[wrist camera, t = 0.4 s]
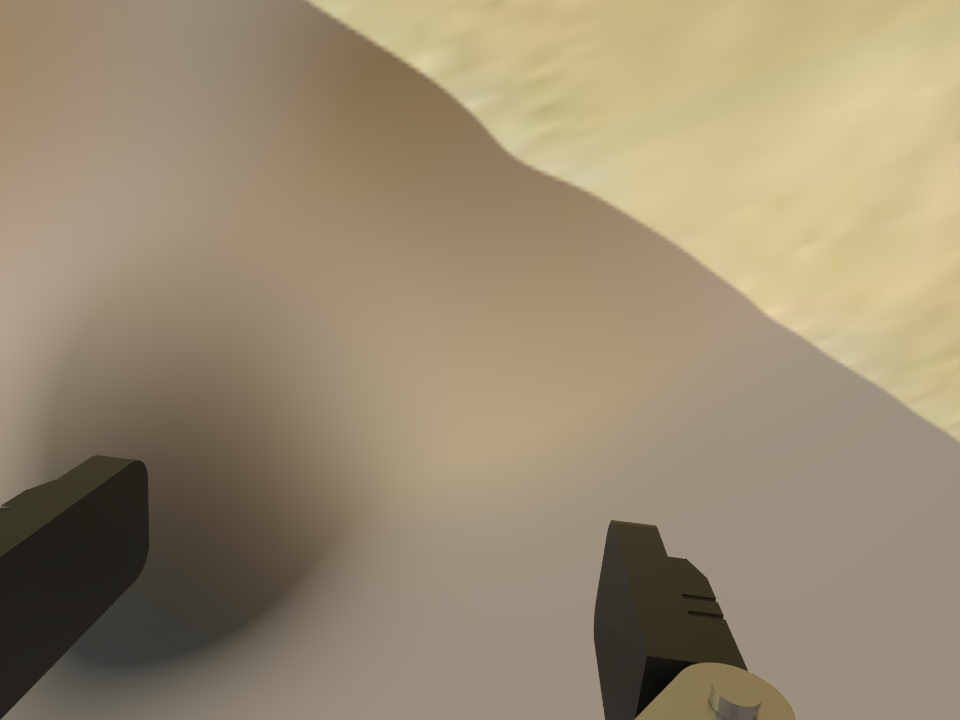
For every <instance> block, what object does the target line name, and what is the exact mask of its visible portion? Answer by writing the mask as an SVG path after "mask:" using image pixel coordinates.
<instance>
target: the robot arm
mask: <svg viewBox="0 0 960 720" xmlns="http://www.w3.org/2000/svg"><path fill="white" fill-rule="evenodd" d="M148 512H149V511H148V473H147V469H146V466H145V464H144V463H143V462H142V461H140V460H133V459H125V458H117V457H109V456H100V455H96V456H93V457H91V458H89V459H88V460H86V461H85V462H83V463H81V464H80V465H78V466H77V467H75V468H74V469H72V470H70V471H69V472H67V473H66V474H65V475H63V476H61V477H60V478H58V479H56V480H54V481H51V482H48V483H45V484H42V485H39V486H37V487H34V488H31V489H28V490H25V491H24V492H22V493H21V494H19V495H17V496H16V497H14V498H12V499H11V500H9V501H8V502H6V503H4V504H3V505H1V508H0V719H1V718H2V717H3V716H4V715H5V714H6V713H7V712H8V711H9V710H10V709H11V708H12V707H13V706H14V705H15V704H16V703H17V702H18V701H19V700H20V699H21V698H22V697H23V696H24V695H25V693H27V692H28V691H29V690H30V689H31V688H32V687H33V685H35V683H36V682H37V681H38V680H39V679H40V678H41V677H42V676H43V675H44V674H45V673H46V672H47V671H48V670H49V669H50V668H51V667H52V666H53V665H54V664H55V663H56V662H57V661H58V660H59V659H60V658H61V657H62V656H63V655H64V654H65V653H66V652H67V651H68V650H69V648H70V647H71V646H72V645H73V644H74V643H75V642H76V641H77V640H78V639H79V638H80V637H81V636H82V635H83V634H84V633H85V632H86V631H87V630H88V629H89V628H90V627H91V626H92V625H93V624H94V623H95V622H96V621H97V620H98V619H99V618H100V616H102V615H103V614H104V613H105V611H107V610H108V608H109V607H110V606H111V605H112V604H113V603H114V602H115V601H116V600H117V599H118V598H119V597H120V596H121V595H122V594H123V593H124V592H125V591H126V590H127V589H128V588H129V587H130V586H131V585H132V584H133V583H134V582H135V580H136V579H137V578H138V577H139V575H140V573H141V571H142V569H143V567H144V565H145V562H146V558H147V554H148V549H149V514H148ZM594 643H595V650H596V657H597V664H598V672H599V678H600V686H601V693H602V700H603V707H604V715H605V720H796V719H795V714H794V712H793V710H792V707H791V706H790V704H789V703H788V701H787V700H786V699H785V697H784V696H783V695H782V694H781V693H780V692H779V691H778V690H777V689H775V688H774V687H773V686H772V685H771V684H769V683H768V682H766V681H765V680H763V679H762V678H760V677H758V676H756V675H755V674H752V673H750V672H748V670H747V668H746V665H745V663H744V661H743V658H742V656H741V654H740V652H739V650H738V647H737V645H736V643H735V640H734V638H733V636H732V634H731V631H730V629H729V627H728V625H727V622H726V620H724V619H723V613H722V611H721V609H720V606H719V604H718V603H717V602H716V597H715V595H714V593H713V591H712V588H711V586H710V584H709V582H708V579H707V578H706V577H705V576H704V575H703V574H702V573H701V572H700V571H699V570H698V569H697V568H696V567H695V566H693V565H692V564H691V563H690V562H689V561H688V560H687V559H681V558H674V557H668V556H667V553H666V551H665V548H664V545H663V542H662V540H661V537H660V534H659V531H658V529H657V527H656V526H655V525H647V524H639V523H631V522H623V521H615V520H612V521H611V522H610V524H609V528H608V532H607V537H606V544H605V549H604V556H603V562H602V568H601V574H600V580H599V586H598V592H597V598H596V605H595V615H594Z"/></svg>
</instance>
